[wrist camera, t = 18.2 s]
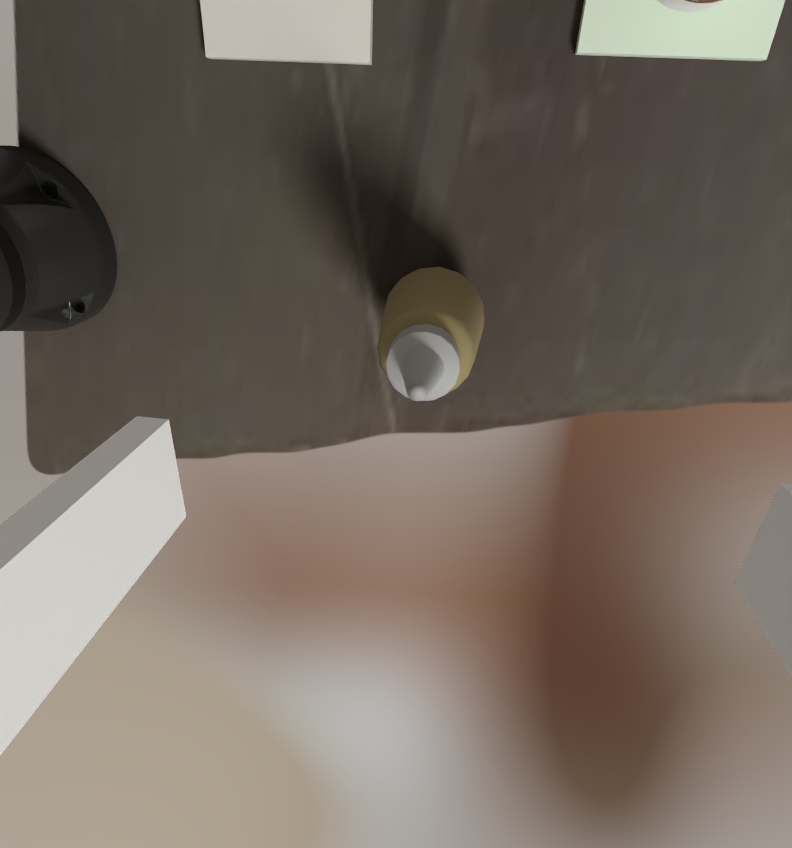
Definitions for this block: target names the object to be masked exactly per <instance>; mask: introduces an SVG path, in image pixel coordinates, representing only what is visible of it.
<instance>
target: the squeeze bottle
mask: <svg viewBox="0 0 792 848" xmlns="http://www.w3.org/2000/svg"><path fill="white" fill-rule="evenodd" d="M483 327H484V305H483V302H482V300H481V298H480V296H479V294H478V292H477V290H476V288H475V286H474V285H473V284H472V283H470V282H469V281H468V280H467V279H466V278H465V277H463V276H462V275H461V274H460V273H458V272H455V271H452V270H449V269H445V268H442V267H430V268H421V269H417V270H415V271H413V272H412V273H410V274H408V275H406V276H404V277H403V278H401V279H400V280H399V281H398V283H397V284H396V285H395V286H394V288H393V289H392V290H391V292H390V293H389V294H388V298H387V301H386V305H385V309H384V313H383V318H382V324H381V330H380V335H379V341H378V347H377V349H378V355H379V362H380V366H381V368H382V370H383V371H384V373H385V375H386V376H387V378H388V380H389V381H390V382H391V383H392V385H393V387H394V388H395V389H396V390H397V391H399V392H400V393H401V394H403V395H404V396H405V397H408V398H410V399H412V400H414V401H427V400H435V399H437V398H439V397H441V396H443V395H446V394H447V393H448V392H450V391H452V390H454V389H456V388H457V387H458V386H459V385H460V384H461V383H462V382H463V381H464V380H465V379H466V378H467V377H468V376H469V373H470V370H471V368H472V365H473V362H474V360H475V357H476V353H477V349H478V346H479V342H480V338H481V335H482V331H483Z"/></svg>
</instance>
